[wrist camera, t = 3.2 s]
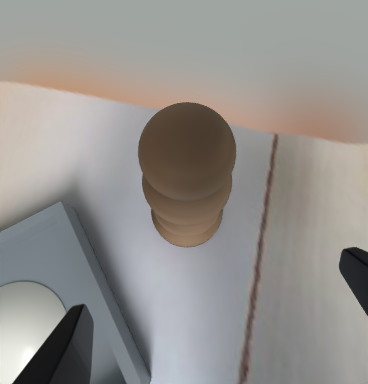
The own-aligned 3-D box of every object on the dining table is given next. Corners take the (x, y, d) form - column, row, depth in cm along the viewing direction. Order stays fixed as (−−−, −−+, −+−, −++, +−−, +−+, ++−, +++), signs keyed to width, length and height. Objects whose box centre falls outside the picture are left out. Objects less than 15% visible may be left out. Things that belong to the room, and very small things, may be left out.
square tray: (151, 378, 18) (146, 394, 16) (-49, 508, 16) (-89, 548, 14) (74, 208, 22) (60, 200, 19) (-98, 297, 20) (-135, 300, 17)
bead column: (233, 225, 21) (303, 154, 8) (173, 260, 20) (152, 240, 8) (198, 170, 23) (213, 40, 10) (141, 200, 22) (79, 102, 9)
